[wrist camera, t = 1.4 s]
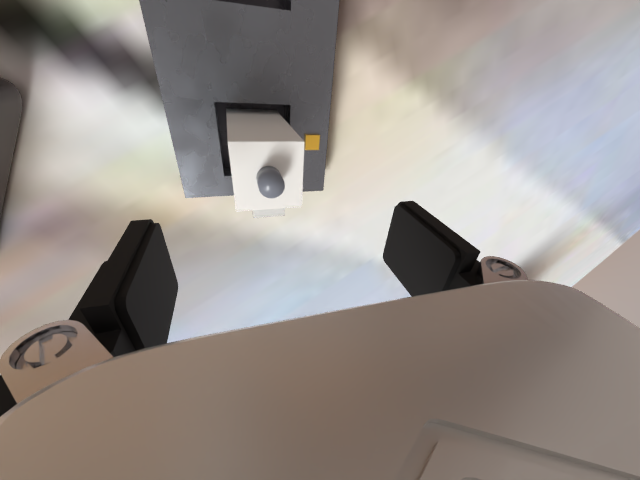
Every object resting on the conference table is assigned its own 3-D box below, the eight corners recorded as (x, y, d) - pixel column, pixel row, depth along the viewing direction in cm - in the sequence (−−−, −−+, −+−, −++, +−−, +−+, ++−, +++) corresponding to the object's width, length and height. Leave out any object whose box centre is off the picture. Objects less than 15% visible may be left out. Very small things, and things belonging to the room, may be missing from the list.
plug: (226, 108, 21) (227, 148, 12) (276, 110, 22) (310, 147, 14) (232, 167, 24) (238, 233, 15) (277, 165, 25) (305, 227, 16)
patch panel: (101, -207, 13) (76, -262, 10) (337, -135, 16) (355, -165, 14) (188, 185, 24) (185, 199, 22) (316, 180, 27) (324, 191, 25)
